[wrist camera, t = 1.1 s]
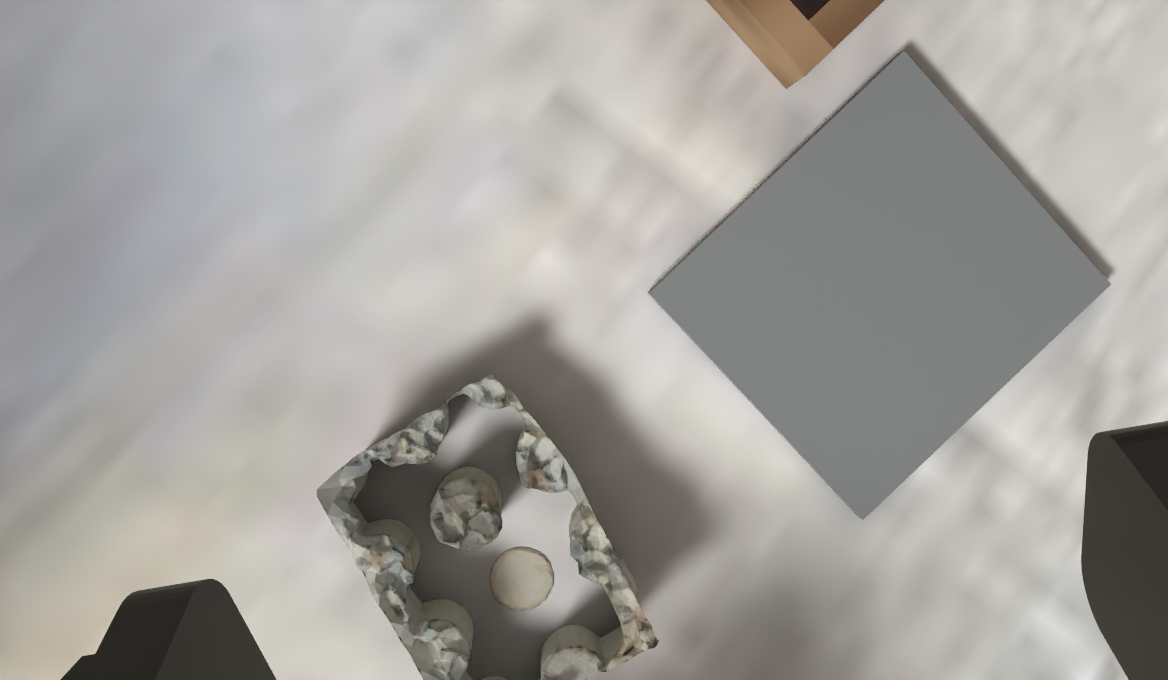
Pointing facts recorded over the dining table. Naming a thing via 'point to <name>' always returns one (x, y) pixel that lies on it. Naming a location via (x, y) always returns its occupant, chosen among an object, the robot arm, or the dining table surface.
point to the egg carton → (469, 523)
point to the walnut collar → (792, 31)
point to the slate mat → (880, 286)
